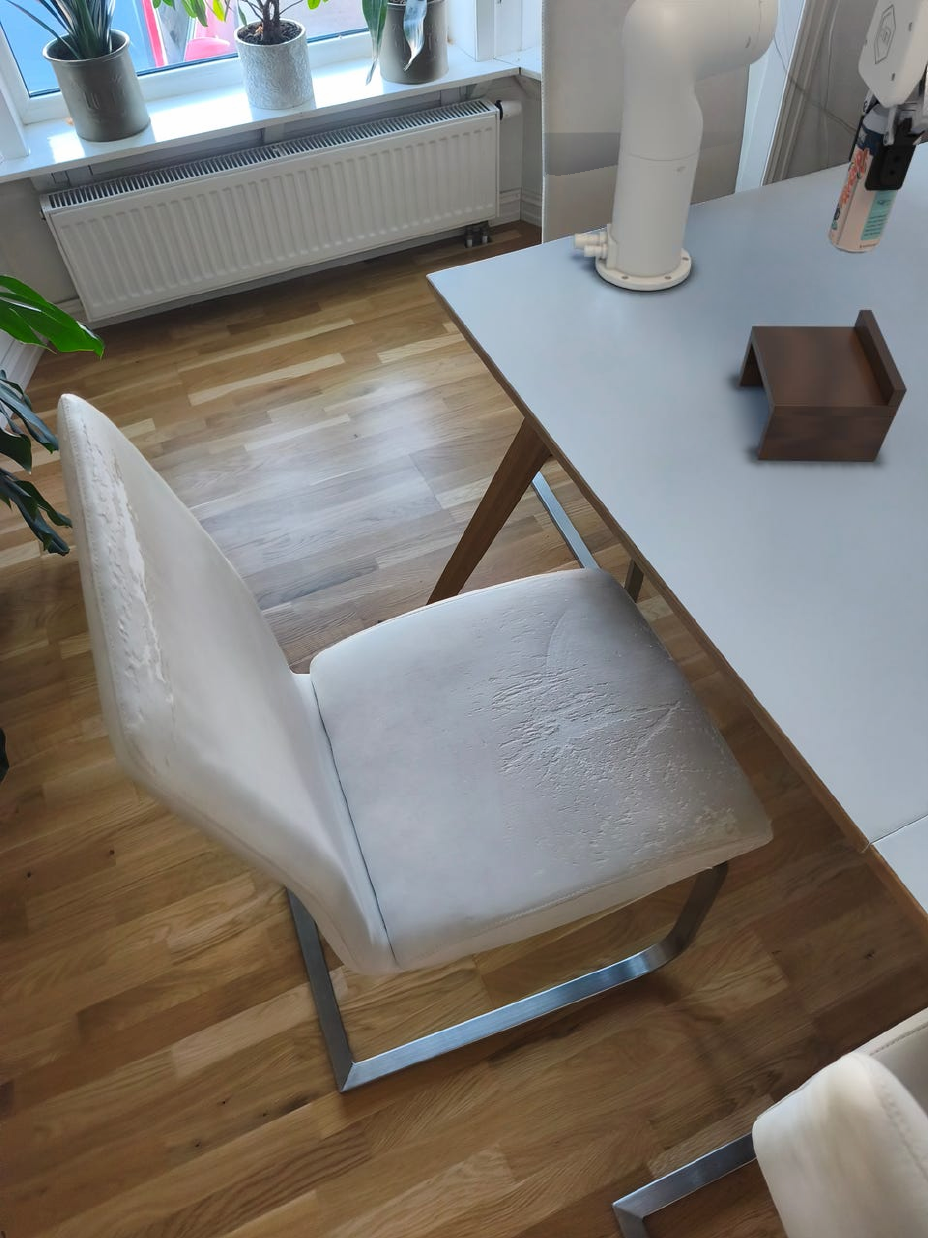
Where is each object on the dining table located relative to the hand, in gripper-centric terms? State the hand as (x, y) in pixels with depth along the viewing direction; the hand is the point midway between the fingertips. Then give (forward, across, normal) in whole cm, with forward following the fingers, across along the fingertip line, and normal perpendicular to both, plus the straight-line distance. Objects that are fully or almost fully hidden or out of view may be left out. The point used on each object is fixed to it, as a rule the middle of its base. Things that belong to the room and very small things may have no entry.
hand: (874, 173), depth 78 cm
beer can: (+7, 0, 0) cm, 7 cm away
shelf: (+24, +5, -1) cm, 24 cm away
